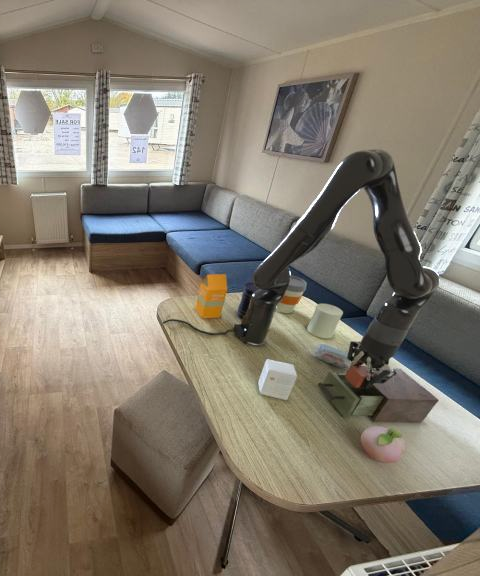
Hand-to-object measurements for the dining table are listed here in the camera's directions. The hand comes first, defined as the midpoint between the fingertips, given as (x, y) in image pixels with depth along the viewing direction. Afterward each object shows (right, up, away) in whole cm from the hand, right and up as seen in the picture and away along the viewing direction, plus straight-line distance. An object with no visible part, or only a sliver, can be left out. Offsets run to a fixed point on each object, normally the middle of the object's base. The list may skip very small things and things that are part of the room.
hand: (357, 381), depth 92 cm
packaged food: (+9, 0, +23) cm, 24 cm away
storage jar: (-9, +15, +49) cm, 52 cm away
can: (+17, +9, +39) cm, 44 cm away
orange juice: (-27, +16, +50) cm, 59 cm away
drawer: (0, -8, +4) cm, 9 cm away
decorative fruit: (-5, -17, -10) cm, 20 cm away
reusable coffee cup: (+11, +18, +56) cm, 60 cm away
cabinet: (+11, -9, +5) cm, 15 cm away
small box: (-21, -6, +9) cm, 23 cm away
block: (0, 0, 0) cm, 0 cm away
